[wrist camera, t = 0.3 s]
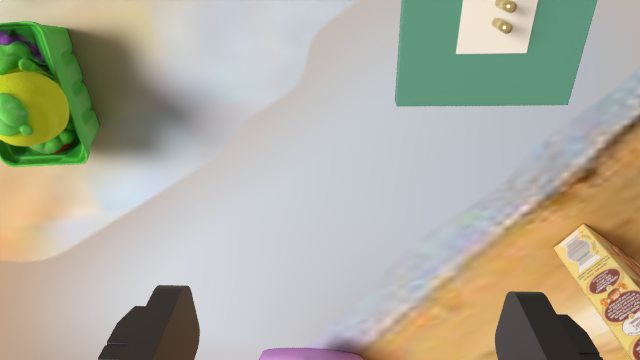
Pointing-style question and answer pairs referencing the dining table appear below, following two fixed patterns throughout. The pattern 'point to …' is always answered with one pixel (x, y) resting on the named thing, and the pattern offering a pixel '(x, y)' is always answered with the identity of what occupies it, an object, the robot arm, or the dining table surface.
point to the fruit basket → (42, 98)
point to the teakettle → (307, 354)
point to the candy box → (606, 283)
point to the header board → (490, 51)
